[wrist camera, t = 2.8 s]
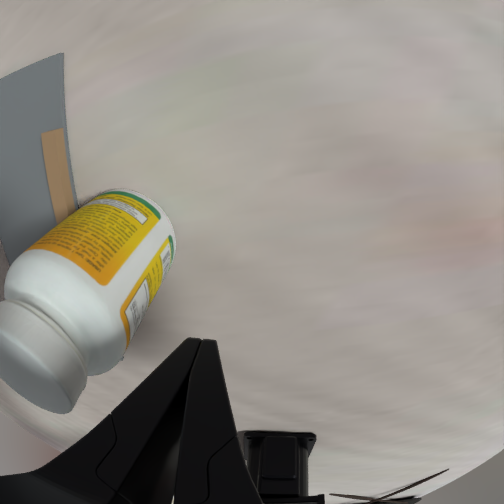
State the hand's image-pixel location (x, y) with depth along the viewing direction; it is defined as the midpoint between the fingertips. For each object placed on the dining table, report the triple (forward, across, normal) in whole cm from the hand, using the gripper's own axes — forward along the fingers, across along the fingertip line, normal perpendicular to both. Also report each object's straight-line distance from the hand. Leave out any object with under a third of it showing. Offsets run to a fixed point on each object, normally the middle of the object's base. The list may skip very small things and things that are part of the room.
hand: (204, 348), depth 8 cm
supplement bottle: (+7, +6, 0) cm, 9 cm away
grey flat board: (+7, +12, 0) cm, 14 cm away
